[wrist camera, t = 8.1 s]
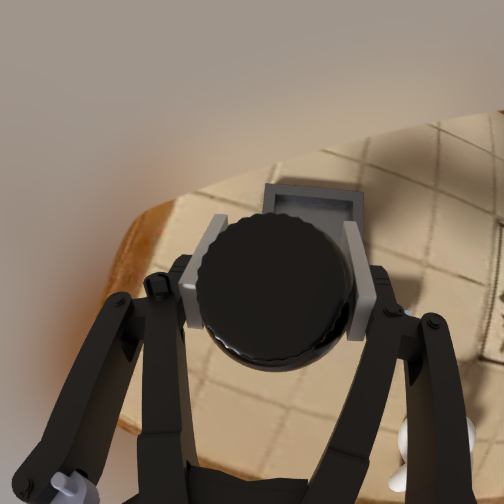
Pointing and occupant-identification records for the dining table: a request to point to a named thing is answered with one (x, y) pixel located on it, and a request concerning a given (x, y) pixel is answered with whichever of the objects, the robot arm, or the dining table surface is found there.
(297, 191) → the keeper frame
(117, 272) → the dining table surface
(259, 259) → the supplement bottle
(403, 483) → the white trefoil knot
